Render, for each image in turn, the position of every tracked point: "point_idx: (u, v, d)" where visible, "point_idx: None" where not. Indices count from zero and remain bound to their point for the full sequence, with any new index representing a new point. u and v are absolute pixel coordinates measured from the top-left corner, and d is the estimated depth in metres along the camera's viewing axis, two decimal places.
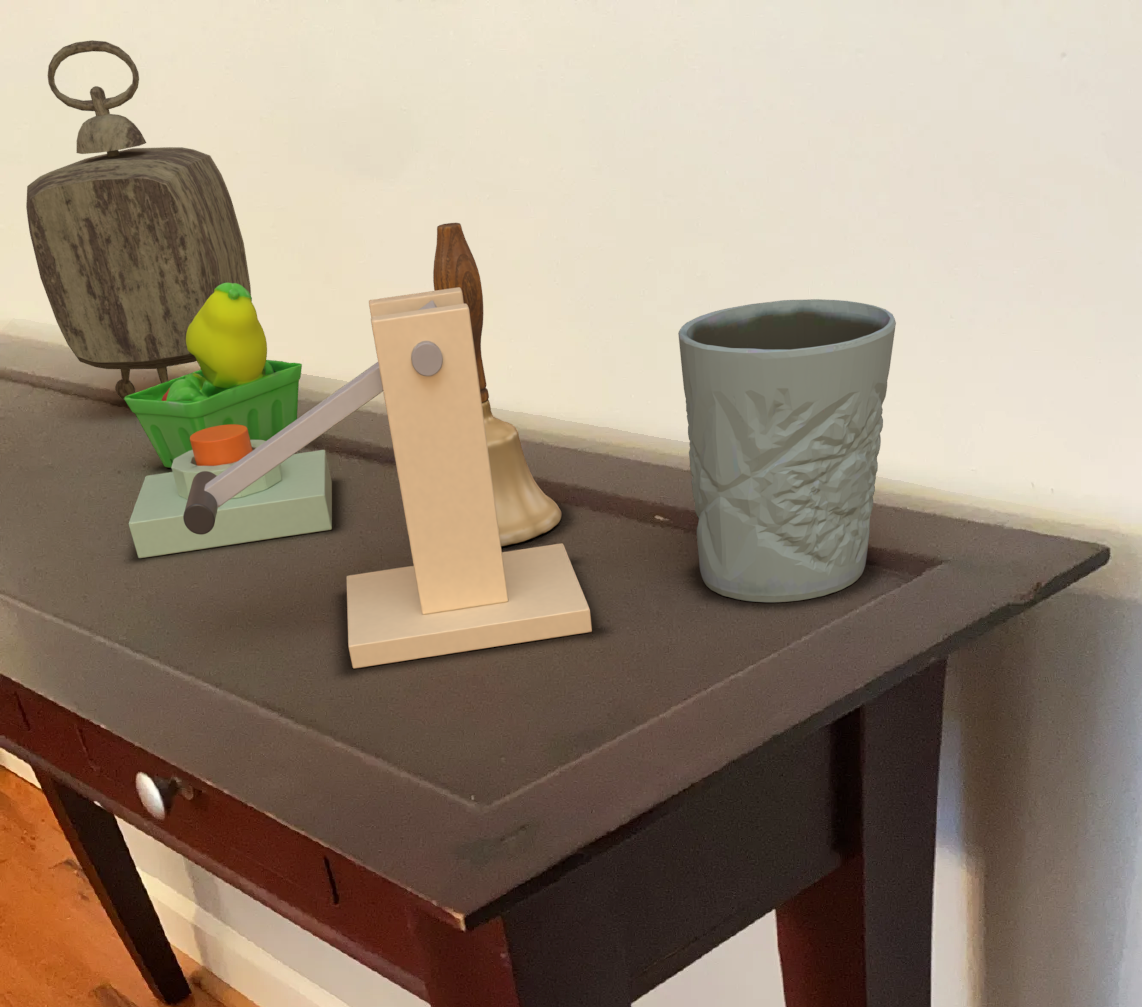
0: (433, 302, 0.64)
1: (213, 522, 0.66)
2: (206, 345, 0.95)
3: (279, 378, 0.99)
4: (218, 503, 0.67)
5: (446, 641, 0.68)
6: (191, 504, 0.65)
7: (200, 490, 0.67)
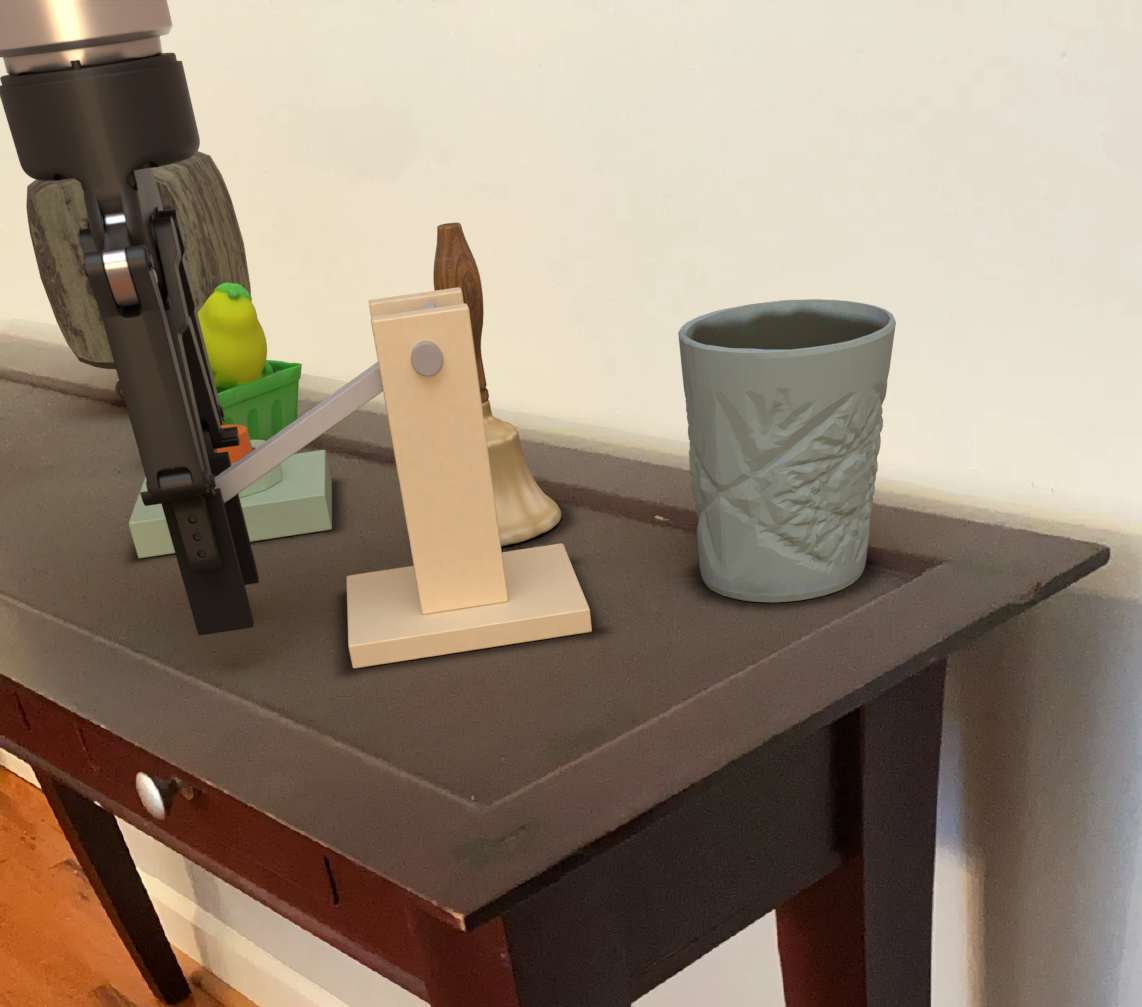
0: (433, 302, 0.64)
1: None
2: (206, 345, 0.95)
3: (279, 378, 0.99)
4: None
5: (446, 641, 0.68)
6: None
7: None
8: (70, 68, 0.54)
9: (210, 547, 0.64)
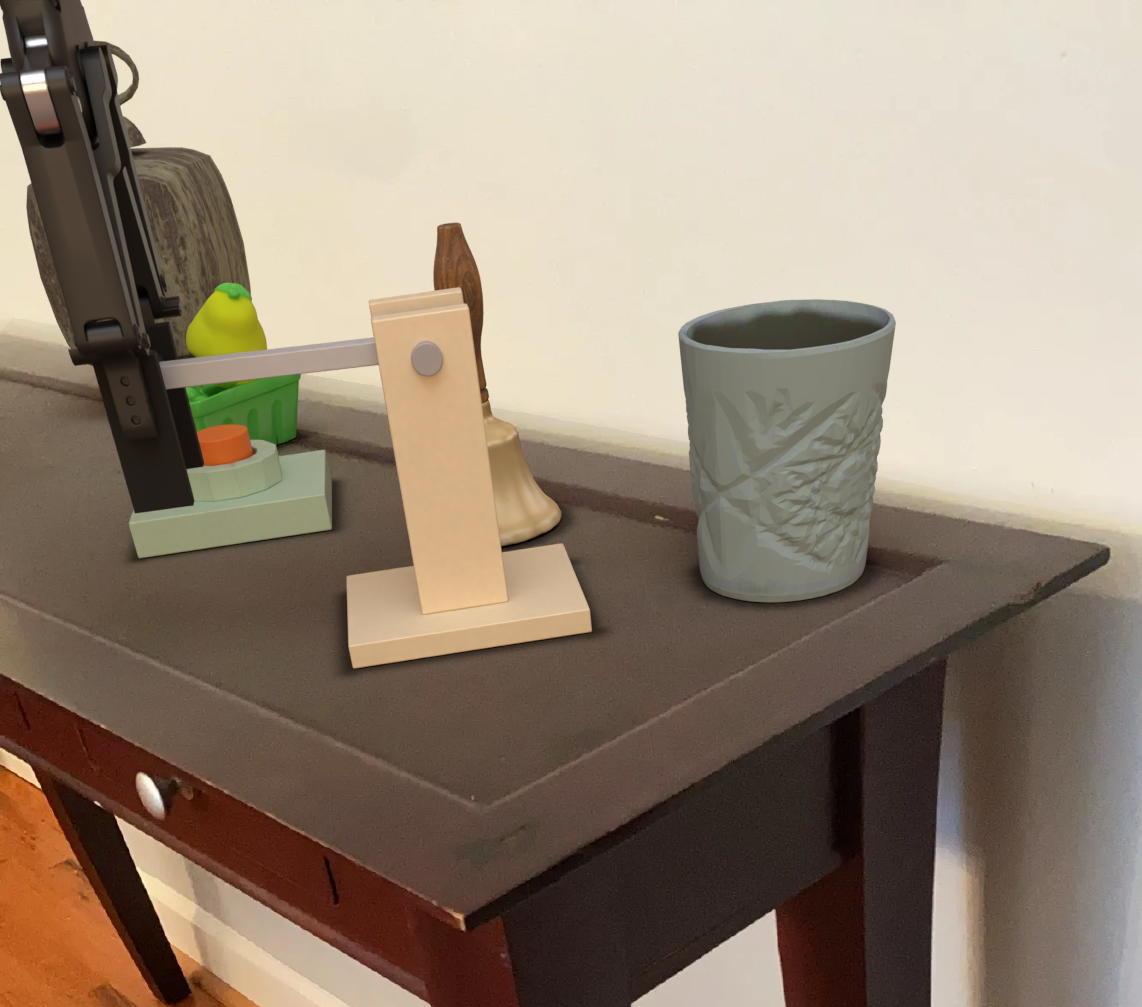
0: None
1: None
2: (207, 345, 0.95)
3: (279, 378, 0.99)
4: None
5: (446, 641, 0.68)
6: None
7: None
8: None
9: (144, 413, 0.61)
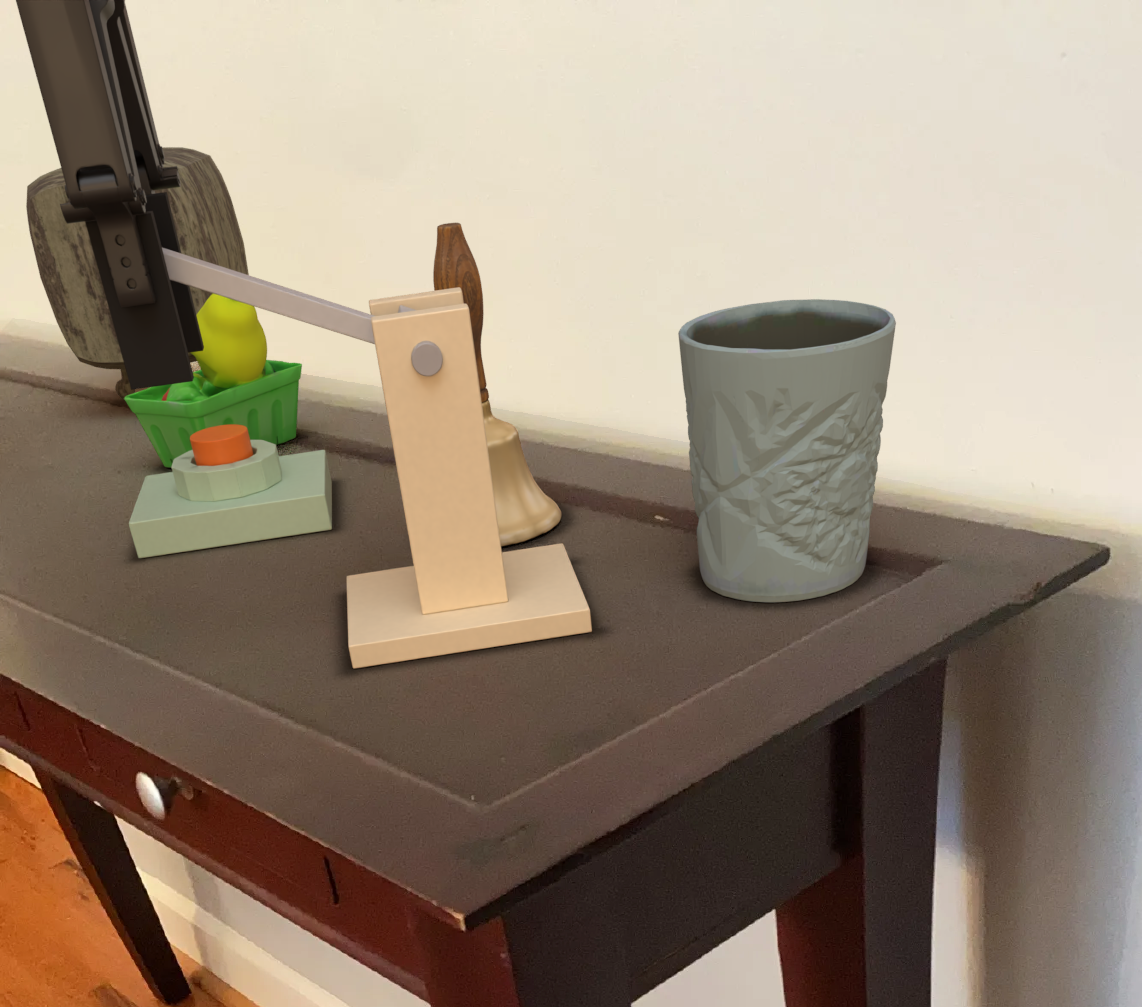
0: None
1: None
2: (207, 345, 0.95)
3: (279, 378, 0.99)
4: None
5: (446, 641, 0.68)
6: None
7: None
8: None
9: (141, 275, 0.57)
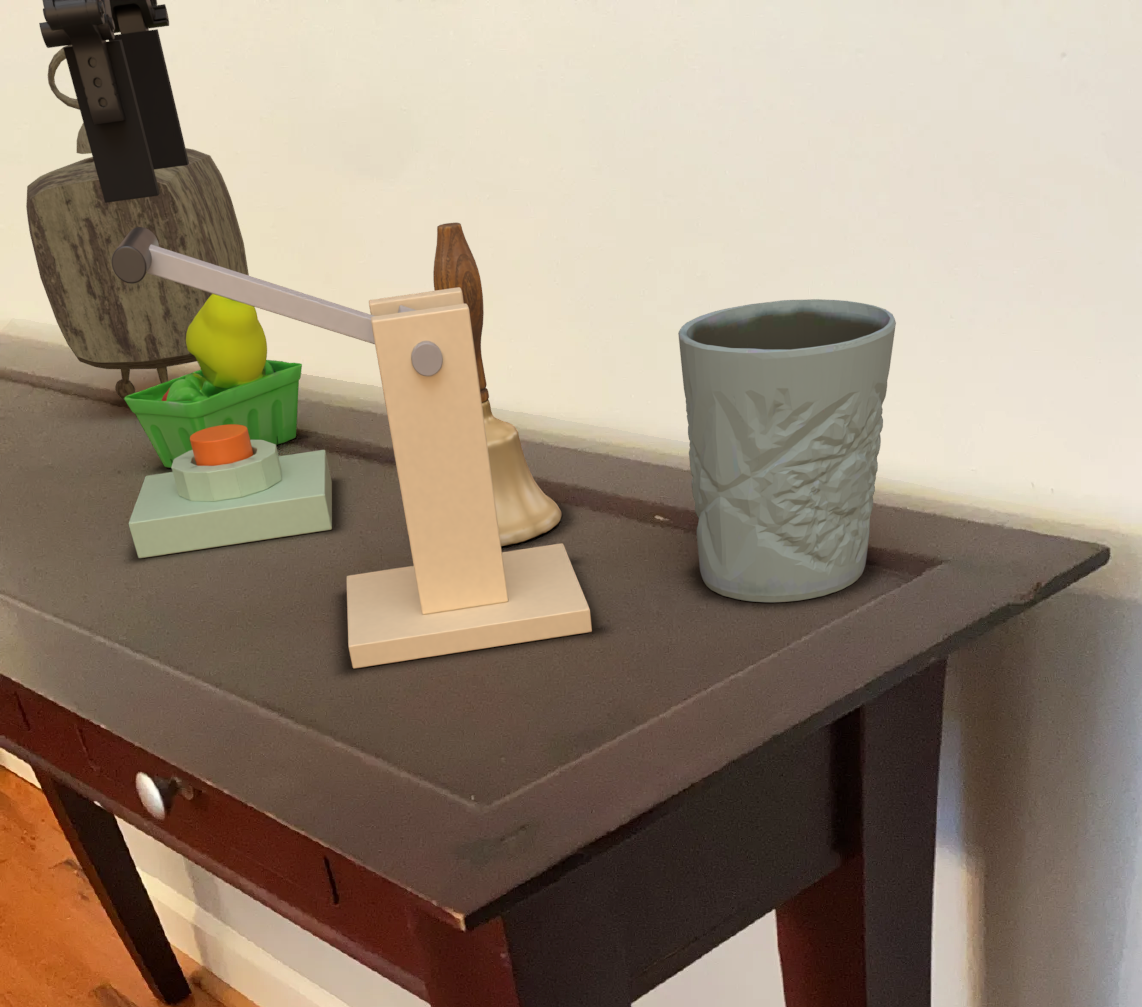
0: None
1: (138, 280, 0.59)
2: (207, 345, 0.95)
3: (279, 378, 0.99)
4: (150, 270, 0.61)
5: (446, 641, 0.68)
6: (134, 247, 0.59)
7: (145, 244, 0.60)
8: None
9: (110, 94, 0.67)
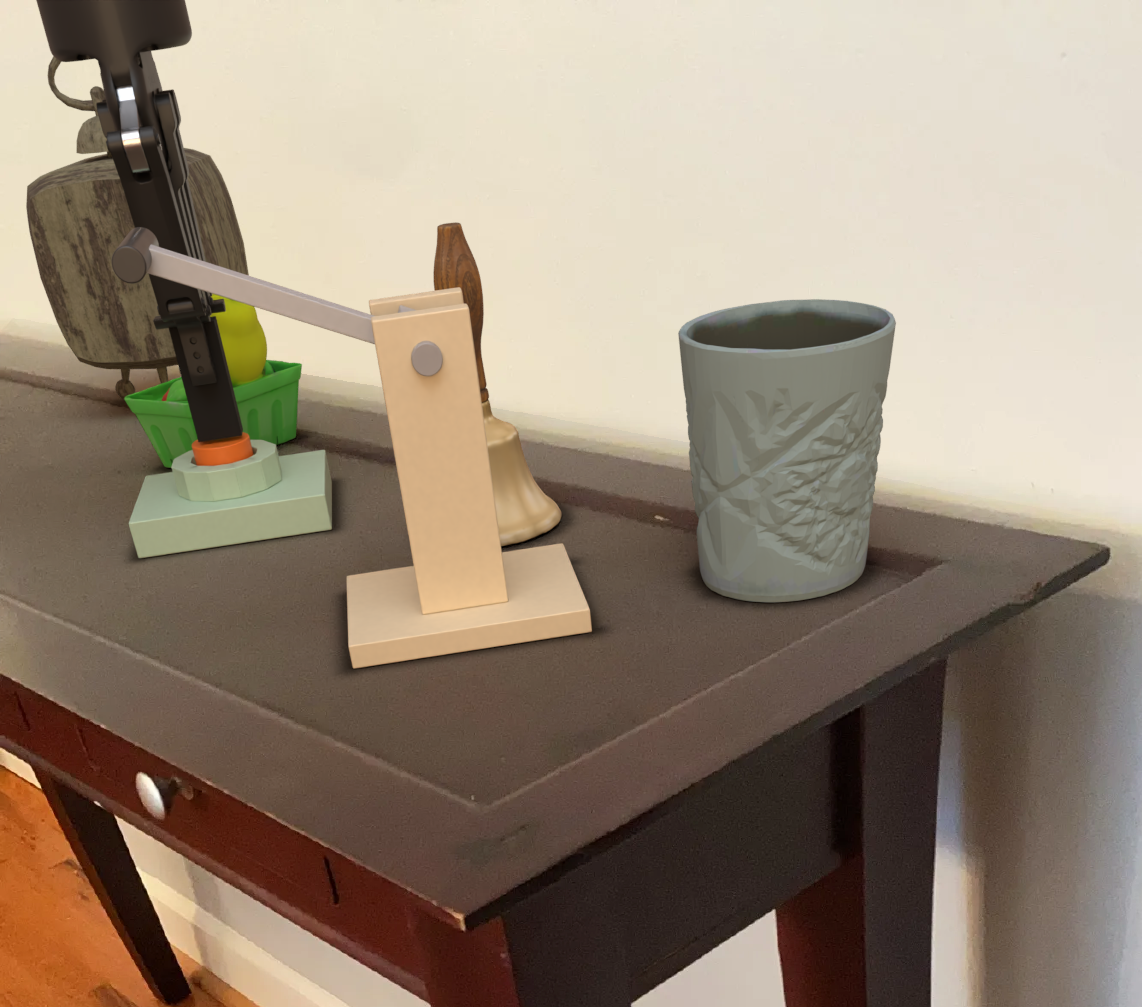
0: None
1: (138, 280, 0.59)
2: None
3: (279, 378, 0.99)
4: (150, 270, 0.61)
5: (446, 641, 0.68)
6: (134, 247, 0.59)
7: (145, 244, 0.60)
8: None
9: (207, 364, 0.82)
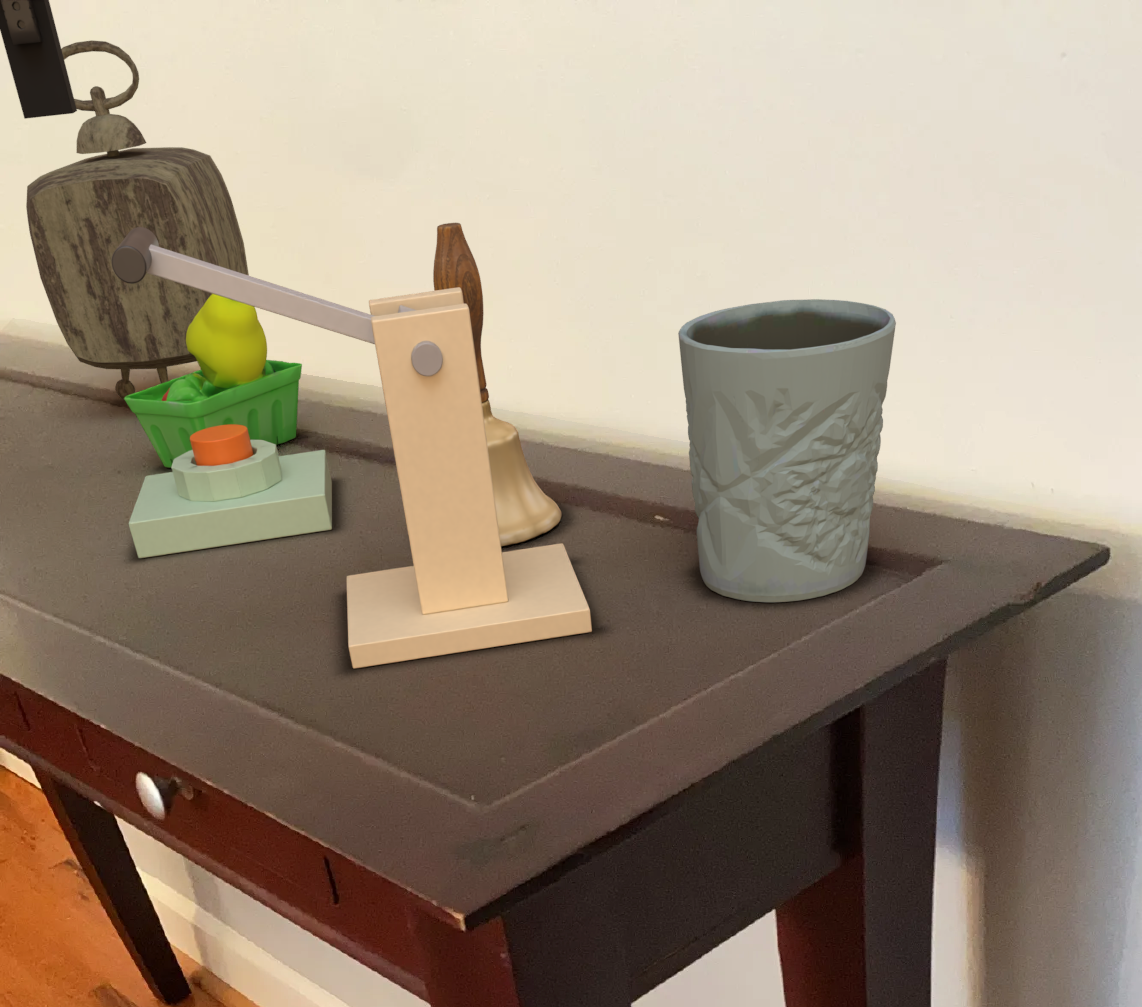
0: None
1: (138, 280, 0.59)
2: (207, 345, 0.95)
3: (279, 378, 0.99)
4: (150, 270, 0.61)
5: (446, 641, 0.68)
6: (134, 247, 0.59)
7: (145, 244, 0.60)
8: None
9: (28, 17, 0.74)
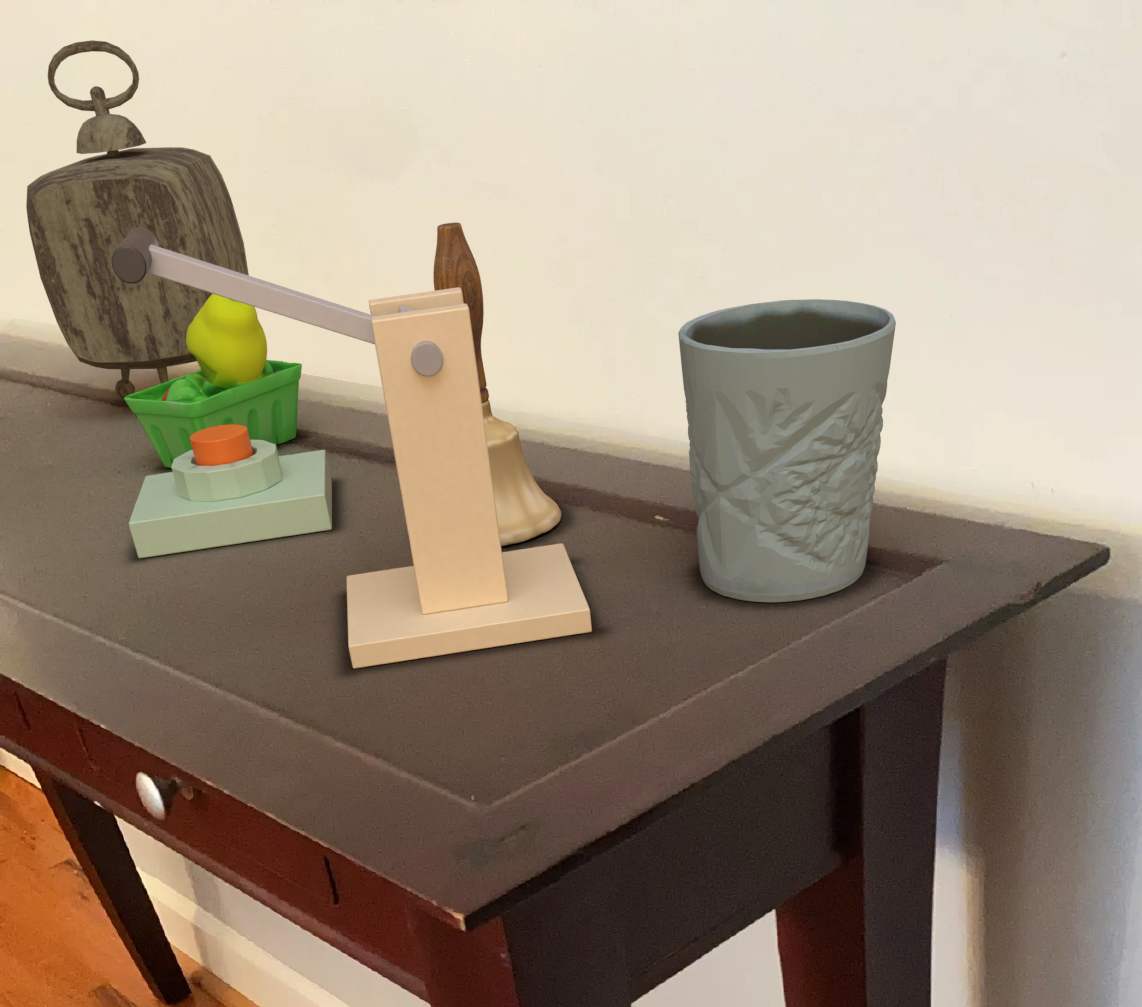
0: None
1: (138, 280, 0.59)
2: (207, 345, 0.95)
3: (279, 378, 0.99)
4: (150, 270, 0.61)
5: (446, 641, 0.68)
6: (134, 247, 0.59)
7: (145, 244, 0.60)
8: None
9: None
